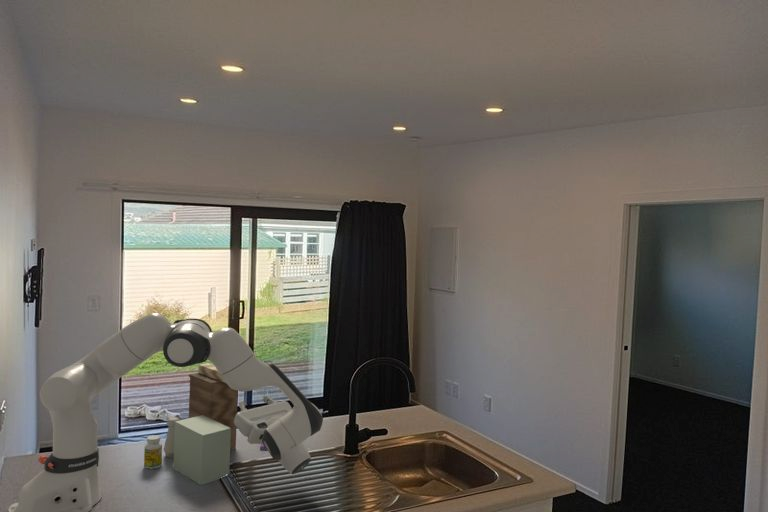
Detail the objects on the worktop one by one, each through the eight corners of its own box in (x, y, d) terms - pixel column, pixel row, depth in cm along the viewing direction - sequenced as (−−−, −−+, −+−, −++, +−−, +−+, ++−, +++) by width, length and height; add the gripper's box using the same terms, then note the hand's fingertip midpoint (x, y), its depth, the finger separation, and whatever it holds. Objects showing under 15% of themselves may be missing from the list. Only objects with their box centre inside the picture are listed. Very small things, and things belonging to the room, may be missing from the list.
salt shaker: (184, 453, 195) (185, 416, 194) (176, 459, 189) (178, 421, 189) (168, 451, 195) (169, 415, 195) (160, 457, 190) (161, 420, 189)
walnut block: (208, 457, 192) (211, 382, 192) (186, 445, 202) (189, 374, 201) (236, 448, 201) (239, 377, 200) (214, 437, 211) (217, 369, 210)
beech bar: (244, 383, 192) (244, 375, 192) (234, 385, 189) (234, 377, 189) (208, 371, 207) (208, 363, 207) (198, 372, 204) (198, 364, 204)
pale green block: (200, 485, 171) (202, 435, 170) (173, 468, 182) (174, 421, 181) (229, 475, 178) (230, 428, 178) (200, 460, 189) (202, 415, 189)
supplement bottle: (164, 463, 185) (165, 435, 185) (156, 470, 180) (157, 440, 180) (149, 462, 186) (150, 433, 185) (140, 468, 180) (141, 439, 180)
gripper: (303, 415, 182) (281, 387, 190) (251, 429, 167) (229, 398, 175) (297, 429, 185) (275, 401, 192) (244, 445, 169) (223, 413, 177)
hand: (253, 399), depth 184 cm, fingers open, 8 cm apart
